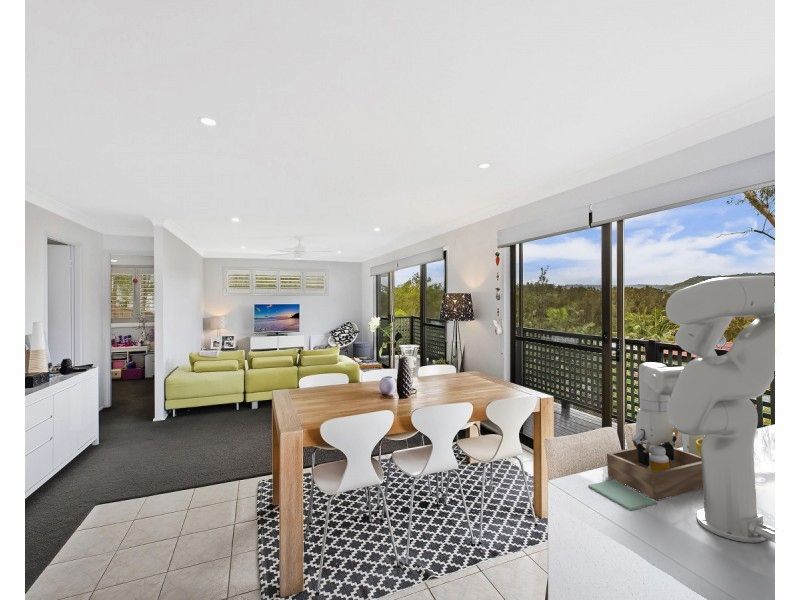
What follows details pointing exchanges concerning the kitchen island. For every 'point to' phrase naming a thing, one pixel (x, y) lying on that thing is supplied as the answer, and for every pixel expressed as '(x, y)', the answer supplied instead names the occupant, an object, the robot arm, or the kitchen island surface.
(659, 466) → the supplement bottle
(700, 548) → the kitchen island surface
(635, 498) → the mat
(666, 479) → the box
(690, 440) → the skincare box
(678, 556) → the kitchen island surface
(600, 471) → the kitchen island surface
